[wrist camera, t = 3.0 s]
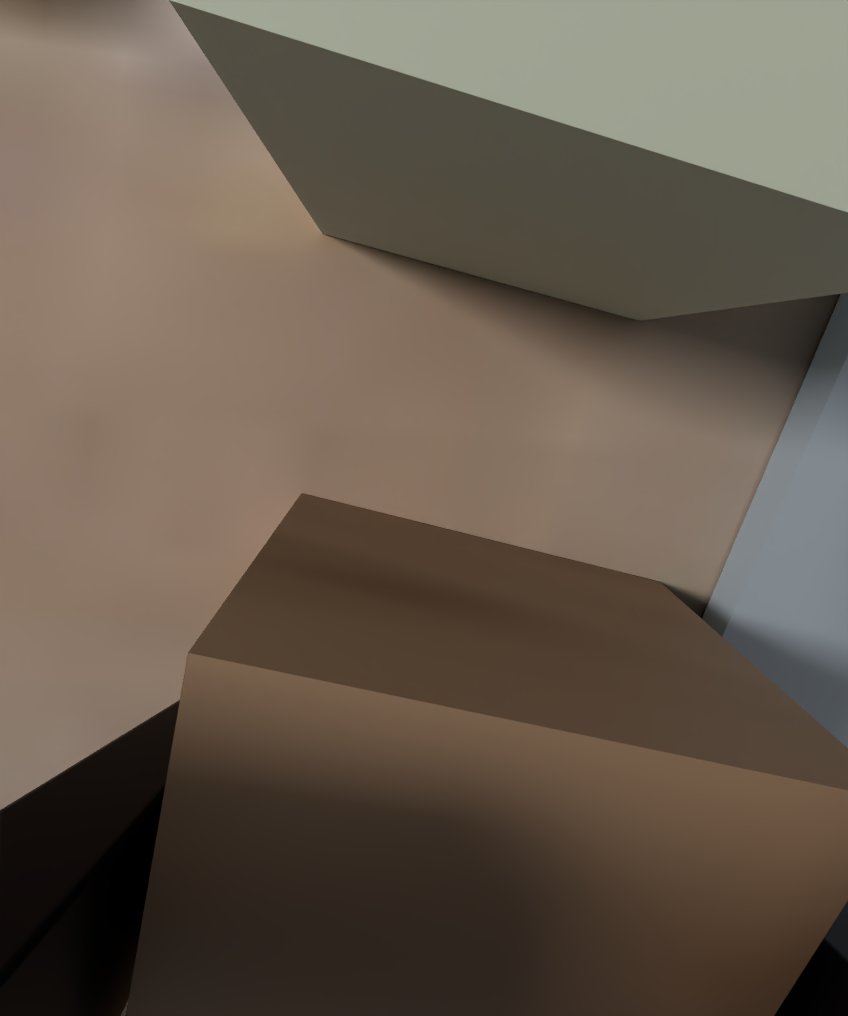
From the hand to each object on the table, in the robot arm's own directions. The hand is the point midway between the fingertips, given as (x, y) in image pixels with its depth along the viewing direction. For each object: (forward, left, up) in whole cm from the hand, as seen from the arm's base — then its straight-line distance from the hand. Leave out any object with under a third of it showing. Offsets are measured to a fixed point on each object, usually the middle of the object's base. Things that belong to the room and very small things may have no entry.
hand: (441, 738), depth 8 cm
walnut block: (0, 0, -1) cm, 1 cm away
